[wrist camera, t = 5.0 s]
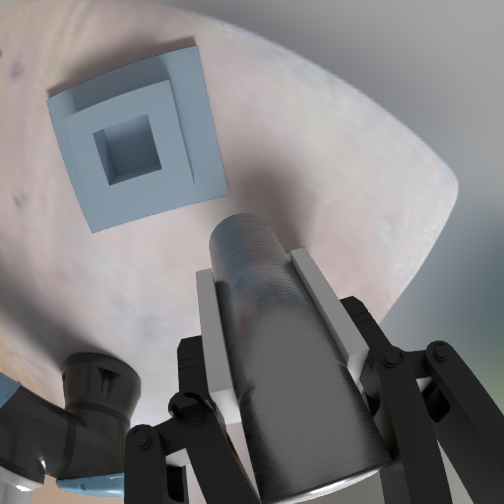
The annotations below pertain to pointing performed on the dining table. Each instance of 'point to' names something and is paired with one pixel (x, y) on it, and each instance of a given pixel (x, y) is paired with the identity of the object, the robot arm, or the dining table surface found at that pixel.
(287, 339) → the peg
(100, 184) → the socket block
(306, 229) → the dining table surface
